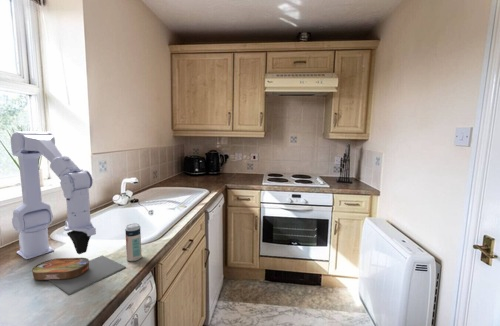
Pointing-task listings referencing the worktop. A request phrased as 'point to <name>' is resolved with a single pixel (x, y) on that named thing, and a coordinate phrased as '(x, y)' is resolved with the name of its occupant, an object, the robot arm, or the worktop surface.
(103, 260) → the mat
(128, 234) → the beer can
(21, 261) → the worktop surface
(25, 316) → the worktop surface
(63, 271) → the tin
